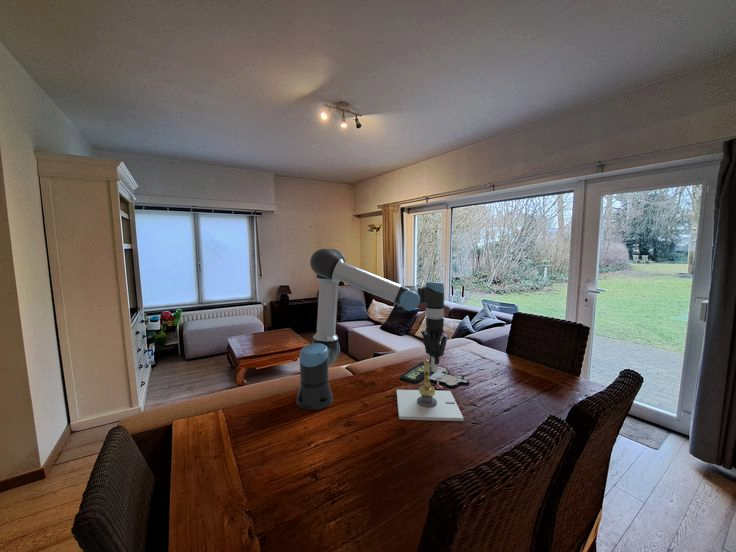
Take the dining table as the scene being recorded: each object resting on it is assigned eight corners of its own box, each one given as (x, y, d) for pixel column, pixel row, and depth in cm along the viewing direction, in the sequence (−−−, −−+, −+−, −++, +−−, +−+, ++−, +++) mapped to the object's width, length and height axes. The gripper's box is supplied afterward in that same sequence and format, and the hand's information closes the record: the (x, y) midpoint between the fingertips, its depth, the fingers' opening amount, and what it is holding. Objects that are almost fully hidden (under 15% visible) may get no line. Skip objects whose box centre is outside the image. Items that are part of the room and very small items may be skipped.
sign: (422, 361, 168) (476, 374, 150) (422, 364, 168) (475, 377, 150) (397, 377, 147) (456, 394, 129) (397, 380, 147) (456, 398, 129)
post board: (399, 419, 112) (399, 406, 112) (396, 392, 134) (396, 381, 133) (463, 421, 111) (463, 408, 110) (450, 393, 133) (450, 382, 132)
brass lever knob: (435, 397, 118) (435, 371, 117) (419, 395, 119) (419, 370, 118) (433, 383, 131) (434, 359, 130) (419, 382, 132) (419, 358, 131)
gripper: (452, 318, 125) (452, 372, 127) (427, 313, 135) (427, 364, 136) (442, 321, 120) (442, 377, 122) (417, 316, 130) (417, 368, 131)
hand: (434, 370), depth 129 cm, fingers closed
